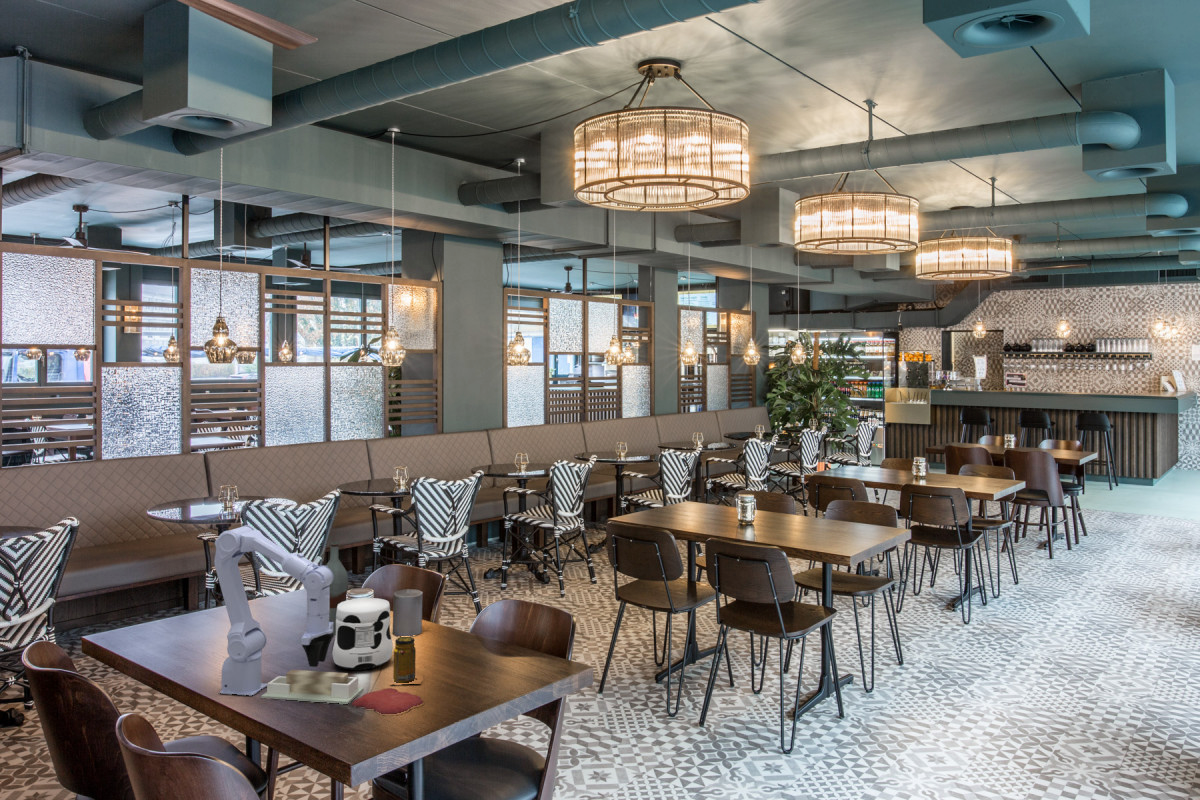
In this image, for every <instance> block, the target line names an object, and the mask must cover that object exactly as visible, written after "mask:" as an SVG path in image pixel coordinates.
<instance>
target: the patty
mask: <svg viewBox="0 0 1200 800" xmlns="http://www.w3.org/2000/svg"><path fill="white" fill-rule="evenodd" d="M421 699H422V697H421V696H419V695H417V694H412V693H410V692H406V691H405V692H404V691H403V692H402V691H399V690H398V689H395V688H393V687H389V688H388V687H387V688H382V689H380V690H375V691H370V692H367V693H364V694H363V695H362V696H361V697H359V698H358V697H357V698H355V699H354V700H353V701H352V702H351V706H352V705H353V706H356V707H365V708H366V709H374V710H375V711H377V712H379V713H381V714H397V713H401V712H404V711H407V710H408V709H410V708H411V707H413V706H417V705H420V704H422V703H423V702H424V700H423V699H422V700H421ZM353 706H352V707H353ZM365 708H364V709H365ZM366 709H365V710H366ZM375 711H374V712H375Z"/></svg>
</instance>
